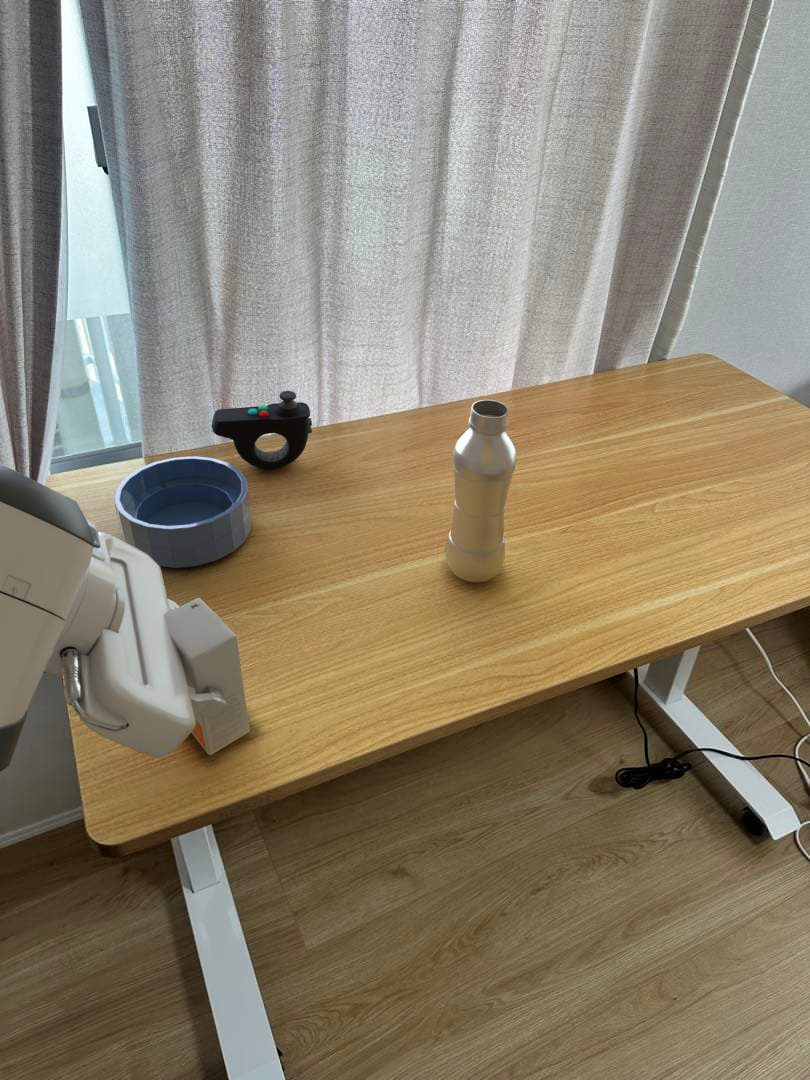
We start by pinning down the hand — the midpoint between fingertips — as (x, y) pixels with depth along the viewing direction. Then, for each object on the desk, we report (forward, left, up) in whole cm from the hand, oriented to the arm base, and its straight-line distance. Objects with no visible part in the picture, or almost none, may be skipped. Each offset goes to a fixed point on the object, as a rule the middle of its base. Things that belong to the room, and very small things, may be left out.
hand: (211, 670), depth 67 cm
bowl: (+5, +28, -7) cm, 29 cm away
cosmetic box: (-1, 0, -7) cm, 7 cm away
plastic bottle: (+31, +8, -7) cm, 33 cm away
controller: (+18, +38, -7) cm, 43 cm away
